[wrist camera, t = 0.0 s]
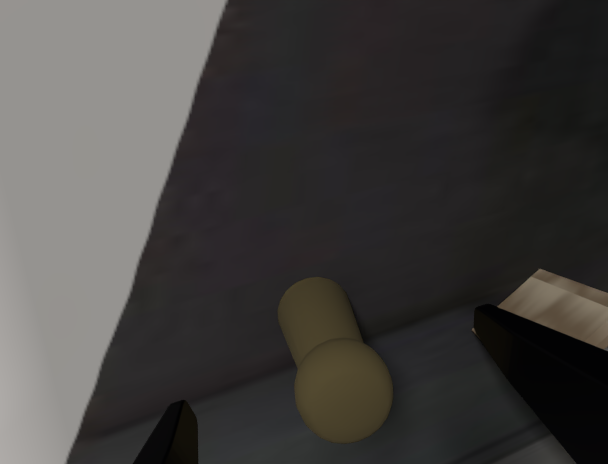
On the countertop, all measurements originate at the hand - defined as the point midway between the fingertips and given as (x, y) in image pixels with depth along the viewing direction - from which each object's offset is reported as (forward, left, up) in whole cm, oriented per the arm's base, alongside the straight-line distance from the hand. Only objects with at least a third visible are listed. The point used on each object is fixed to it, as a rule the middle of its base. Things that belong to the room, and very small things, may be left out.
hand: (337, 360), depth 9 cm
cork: (-4, -4, -16) cm, 17 cm away
